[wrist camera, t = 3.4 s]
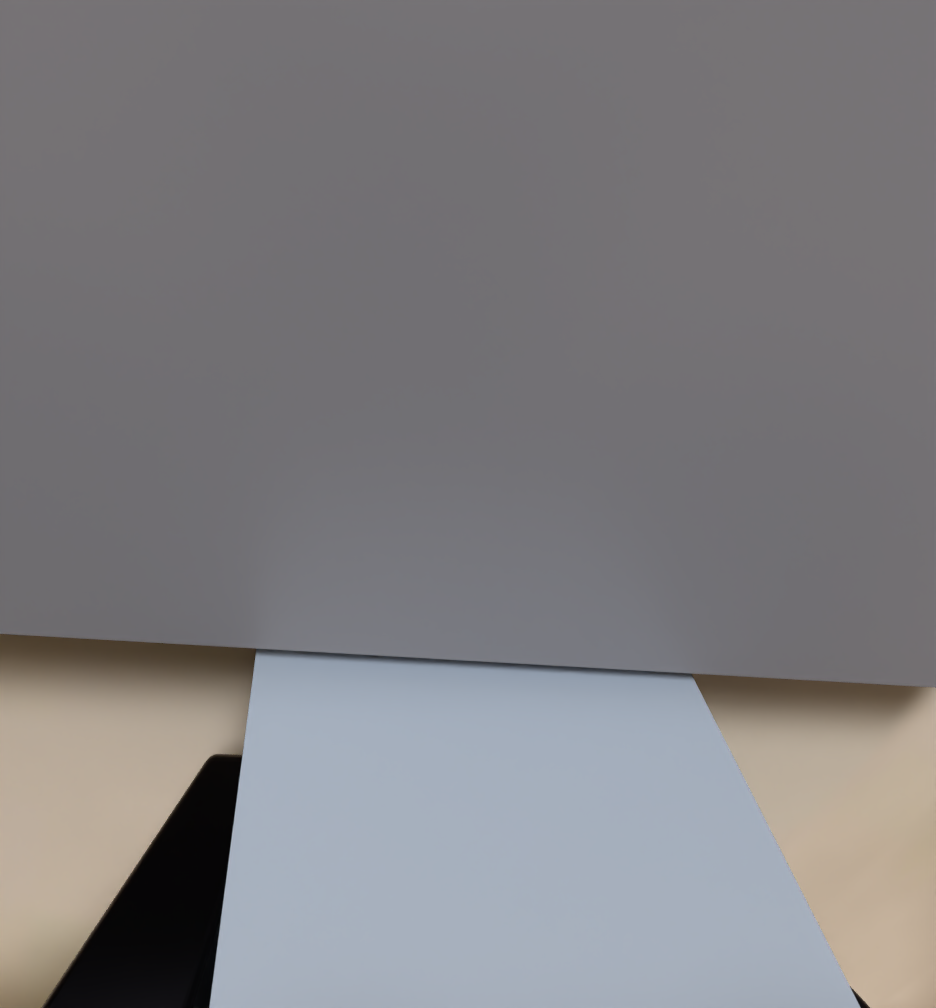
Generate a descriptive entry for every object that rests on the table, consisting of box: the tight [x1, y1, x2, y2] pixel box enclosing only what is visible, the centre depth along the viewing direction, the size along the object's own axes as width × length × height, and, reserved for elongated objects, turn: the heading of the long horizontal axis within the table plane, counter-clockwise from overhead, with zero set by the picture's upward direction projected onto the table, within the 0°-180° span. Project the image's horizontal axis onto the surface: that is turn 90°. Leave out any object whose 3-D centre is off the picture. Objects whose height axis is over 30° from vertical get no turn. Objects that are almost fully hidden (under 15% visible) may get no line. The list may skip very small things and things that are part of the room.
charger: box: [209, 649, 860, 1008], centre depth 8 cm, size 4×5×6 cm
